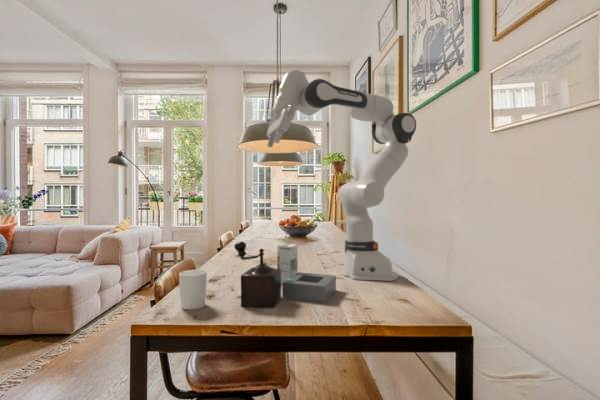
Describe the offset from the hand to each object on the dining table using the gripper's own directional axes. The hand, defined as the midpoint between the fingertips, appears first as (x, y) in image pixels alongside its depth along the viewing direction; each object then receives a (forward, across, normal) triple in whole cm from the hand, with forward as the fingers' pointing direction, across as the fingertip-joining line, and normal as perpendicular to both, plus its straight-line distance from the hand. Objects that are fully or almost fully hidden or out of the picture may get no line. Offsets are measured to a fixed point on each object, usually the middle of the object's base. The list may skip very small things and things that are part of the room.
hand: (272, 144), depth 117 cm
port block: (+46, -17, -25) cm, 55 cm away
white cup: (+59, -16, +10) cm, 62 cm away
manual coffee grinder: (+53, -18, -7) cm, 56 cm away
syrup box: (+48, -3, -22) cm, 52 cm away
